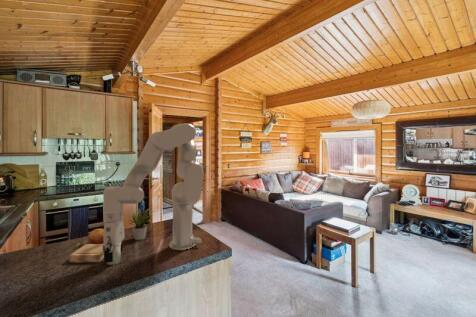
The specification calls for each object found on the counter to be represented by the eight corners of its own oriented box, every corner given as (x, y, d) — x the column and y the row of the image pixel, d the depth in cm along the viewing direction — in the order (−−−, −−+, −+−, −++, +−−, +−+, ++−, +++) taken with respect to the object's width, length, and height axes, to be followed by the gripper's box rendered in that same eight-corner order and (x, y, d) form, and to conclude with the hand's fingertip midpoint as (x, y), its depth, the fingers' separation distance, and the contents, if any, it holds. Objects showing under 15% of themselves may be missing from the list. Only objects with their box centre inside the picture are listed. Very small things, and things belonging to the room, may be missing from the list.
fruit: (112, 236, 130) (107, 226, 125) (103, 249, 123) (98, 238, 119) (97, 235, 131) (92, 225, 126) (88, 248, 124) (82, 238, 120)
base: (111, 250, 116) (111, 243, 116) (99, 262, 104) (99, 254, 104) (85, 250, 115) (85, 243, 115) (69, 262, 103) (69, 254, 103)
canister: (123, 258, 107) (123, 240, 107) (117, 265, 102) (117, 245, 102) (110, 259, 107) (109, 240, 107) (103, 265, 102) (103, 245, 101)
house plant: (158, 233, 140) (158, 204, 140) (153, 242, 127) (153, 210, 126) (132, 233, 138) (132, 204, 138) (124, 243, 125) (124, 211, 124)
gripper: (113, 222, 95) (113, 266, 96) (130, 211, 113) (130, 248, 113) (93, 222, 95) (93, 266, 96) (113, 211, 112) (113, 248, 113)
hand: (113, 256), depth 104 cm, fingers open, 9 cm apart
